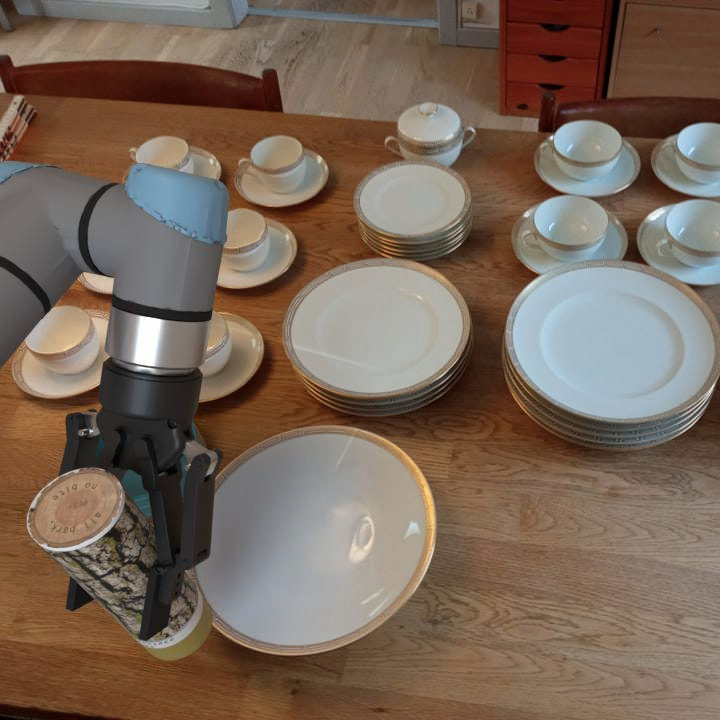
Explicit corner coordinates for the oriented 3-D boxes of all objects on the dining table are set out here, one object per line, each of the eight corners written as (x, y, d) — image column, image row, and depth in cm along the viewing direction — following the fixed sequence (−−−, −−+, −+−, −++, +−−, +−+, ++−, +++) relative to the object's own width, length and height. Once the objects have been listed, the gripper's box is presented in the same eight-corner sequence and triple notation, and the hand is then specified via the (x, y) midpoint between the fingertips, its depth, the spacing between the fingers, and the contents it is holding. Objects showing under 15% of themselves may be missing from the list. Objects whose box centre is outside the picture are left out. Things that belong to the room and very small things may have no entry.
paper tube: (211, 658, 72) (113, 542, 53) (140, 667, 71) (14, 553, 52) (218, 592, 76) (130, 462, 57) (151, 600, 76) (39, 472, 57)
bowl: (67, 499, 90) (49, 482, 86) (136, 407, 98) (123, 388, 94) (166, 534, 87) (151, 518, 83) (229, 436, 95) (218, 417, 91)
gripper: (286, 387, 61) (241, 635, 65) (90, 329, 65) (58, 565, 69) (234, 402, 54) (187, 680, 57) (17, 336, 58) (-13, 599, 62)
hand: (117, 617), depth 63 cm, fingers closed on paper tube, 7 cm apart
